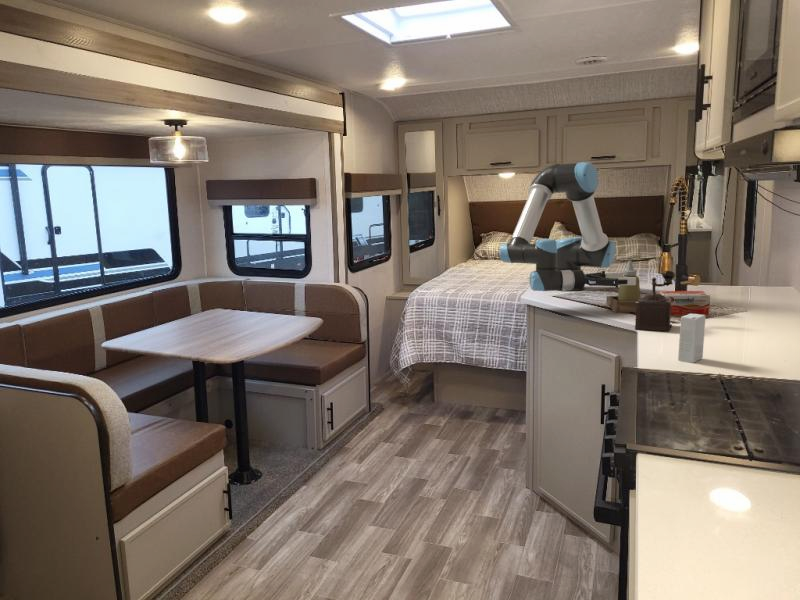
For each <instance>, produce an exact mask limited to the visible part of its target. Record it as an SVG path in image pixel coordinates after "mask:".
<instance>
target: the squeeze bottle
mask: <svg viewBox="0 0 800 600" xmlns="http://www.w3.org/2000/svg"><path fill="white" fill-rule="evenodd" d="M622 273H623V276H622V277H621V278H633V277H635V278H636V285H620V286H618V293H617V294H618V295H617V296H618V301H619V302H627V301H637V300H638V298H639V297H640V295H641V289H640V287H641V285H640V277H639V276H638V275H637V273H638V272H637V270H635V269H634V266H633V261H632V260H628V262H627V266H626V269H624V270H623V271H622Z"/></svg>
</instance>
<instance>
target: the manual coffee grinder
mask: <svg viewBox="0 0 800 600" xmlns="http://www.w3.org/2000/svg"><path fill="white" fill-rule="evenodd" d="M675 277H676V273H675V272H674V271H673V270H665V271H663V272H662V278H663V279H664V281H663V283H657V278H656V277H652V278H651V285H652V292H651V293H649V294H646V295H645V296H644V295H643V297H639V298H638V300H637V301H636V312H635V325H634V330H635V331H637V330H638V331H646V332H647V331H649V332H666V333H669V332H670V331H671V329H672V328H673V324H672V323H671V319H672V318H671V317H672V316H671V298H666V297H665V295H666V294H665V295H664V296H663V295H660V292H659V293H656V287H661V288H662V287H665V286H667V287H668V286H670V285H673V280H674V278H675Z"/></svg>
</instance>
